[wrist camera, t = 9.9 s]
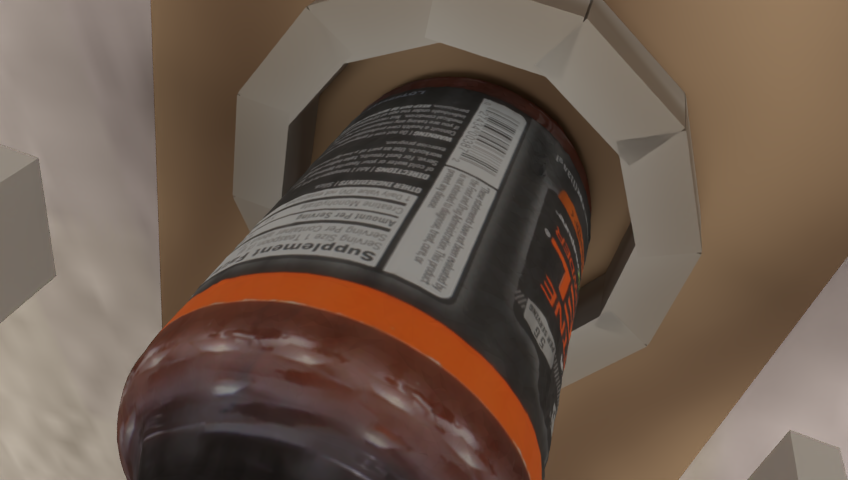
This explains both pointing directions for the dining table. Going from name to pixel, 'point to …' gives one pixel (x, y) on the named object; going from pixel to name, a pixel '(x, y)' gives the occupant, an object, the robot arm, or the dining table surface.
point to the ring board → (600, 156)
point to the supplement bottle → (382, 308)
